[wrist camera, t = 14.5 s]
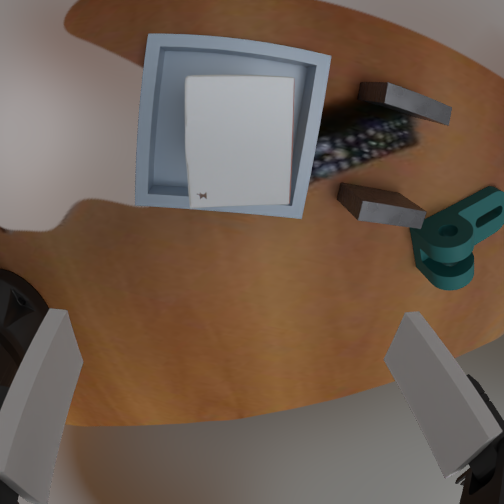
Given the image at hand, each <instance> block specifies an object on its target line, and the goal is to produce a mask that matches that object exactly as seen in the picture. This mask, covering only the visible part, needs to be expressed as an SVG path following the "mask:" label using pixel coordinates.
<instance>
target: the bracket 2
mask: <svg viewBox="0 0 504 504" xmlns="http://www.w3.org/2000/svg"><path fill="white" fill-rule="evenodd" d="M503 224H504V192H503V191H501V190H499V189H497V188H495V187H493V186H488V187H486V188H484V189H482V190H480V191H478V192H476V193H475V194H473V195H471V196H469V197H467V198H465V199H463V200H461V201H459V202H457V203H456V204H454V205H452V206H450V207H448V208H446V209H444V210H442V211H440V212H438V213H436V214H434V215H432V216H430V217H428V218H426V219H424V221H423V224H422V227H421V229H418V228H411V227H410V232H411V238H412V244H413V250H414V256H415V263H416V267H417V268H418V269H419V270H420V271H421V273H422V274H423V275H424V276H425V277H426V278H427V279H428V280H429V281H430V282H431V283H432V284H433V285H434V286H435V287H437V288H439V289H443V290H457V289H460V288H462V287H464V286H466V285H467V284H468V283H470V281H471V280H472V278H473V276H474V256H473V253H472V251H473V248H474V245H476V244H477V243H479V242H481V241H482V240H484V239H486V238H487V237H489V236H490V235H492V234H494V233H495V232H497V231H498V230H499V229H500V228H501V227H502V226H503Z"/></svg>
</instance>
